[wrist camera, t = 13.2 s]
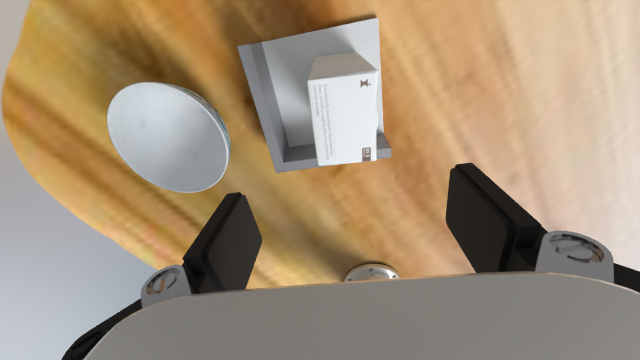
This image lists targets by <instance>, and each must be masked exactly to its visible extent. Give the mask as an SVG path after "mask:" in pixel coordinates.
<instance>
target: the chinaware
mask: <svg viewBox="0 0 640 360" xmlns="http://www.w3.org/2000/svg"><path fill="white" fill-rule="evenodd" d="M107 127H108V132H109V135H110V138H111V141H112V143H113V145H114V147H115V149H116V150H117V152H118V153H119V155H120V156H121V158H122V159H123V160H124V161H125V162H126V164H127V165H128V166H129V167H130V168H131V169H132V170H134V171H135V172H136V173H137V174H138V175H140V176H141V177H143V178H144V179H146V180H147V181H149V182H151V183H152V184H154V185H157V186H159V187H161V188H164V189H167V190H170V191H175V192H182V193H193V192H199V191H203V190H206V189H208V188H210V187H212V186H213V185H215V184H216V183H217V182H218V181H219V180H220V179H221V177H222V176H223V174H224V173H225V171H226V168H227V165H228V162H229V158H230V150H231V144H230V136H229V132H228V129H227V127H226V124H225V122H224V120H223V119H222V117H221V115H220V114H219V113H218V111H217V110H216V109H215V108H214V107H213V106H212V105H211V104H210V103H209V102H208V101H207V100H205V99H204V98H203V97H201V96H200V95H198V94H196V93H195V92H193V91H191V90H188V89H186V88H183V87H180V86H177V85H173V84H168V83H162V82H140V83H135V84H132V85H129V86H127V87H125V88H123V89H122V90H120V91H119V92H118V93H117V94H116V95H115V96H114V97H113V99H112V101H111V103H110V105H109V108H108V112H107Z"/></svg>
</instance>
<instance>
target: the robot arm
mask: <svg viewBox="0 0 640 360" xmlns="http://www.w3.org/2000/svg"><path fill="white" fill-rule="evenodd" d="M446 223H447V226H448V227H449V229H450V231H451V232H452V234H453V236H454V237H455V239H456V240H457V242H458V244H459V245H460V247H461V249H462V250H463V252H464V254H465V255H466V257H467V258H468V260H469V262H470V263H471V265H472V267H473V268H474V270H475V272H476V273H470V274H451V275H436V276H421V277H406V278H400V276H399V274H398V273H397V272H396V271H395V270H394V269H392V268H391V267H388V266H386V265H381V264H366V265H362V266H358V267H356V268H354V269H353V270H351V271H350V272H349V273H348V274H347V275H346V277H345V280H344V282H334V283H321V284H307V285H294V286H281V287H268V288H255V289H246V286H247V283H248V280H249V278H250V275H251V272H252V269H253V266H254V263H255V261H256V258H257V255H258V252H259V249H260V247H261V244H262V237H261V234H260V232H259V229H258V226H257V224H256V221H255V219H254V216H253V214H252V211H251V209H250V206H249V204H248V201H247V199H246V196H245V195H242V194H241V193H240V192H237V193H229V194H227V195H226V196H225V198H224V199H223V200H222V202H221V203H220V205H219V206H218V208H217V209H216V211H215V212H214V213H213V215H212V216H211V218H210V219H209V221H208V222H207V223H206V225H205V226H204V228H203V229H202V231H201V232H200V234H199V235H198V236H197V238H196V239H195V241H194V242H193V244H192V245H191V247H190V248H189V249H188V251H187V252H186V254H185V255H184V257H183V258H182V259H183V260H184V263H183V264H182V266H180V265H171V266H167V267H165V268H163V269H161V270H159V271H158V272H156V273H155V274H153V275H152V276H151V277H150V278H149V279H148V280H147V281H146V283H145V284H144V286H143V287H142V291H141V299H139V300H137V301H136V302H134V303H133V304H131V305H129V306H128V307H126V308H125V309H123V310H121V311H120V312H118V313H117V314H115V315H114V316H112V317H110V318H109V319H107V320H106V321H104V322H102V323H101V324H99V325H97V326H96V327H94V328H93V329H91V330H89V331H88V332H87V333H85V334H84V335H82V336H81V337H80V338H78V339H77V340H76V341H75V342H74V343H73V344H72V346H71V347H70V348H69V349H68V350H67V351H66V353H65V355H64V356H63V358H62V360H640V272H639V271H636V270H633V269H630V268H627V267H624V266H621V265H618V264H615V263H613V257H612V254H611V252H610V251H609V250H608V249H607V248H606V247H605V246H604V245H602V244H601V243H599V242H598V241H596V240H594V239H592V238H590V237H588V236H585V235H582V234H579V233H574V232H569V231H552V232H549V233H548V232H547V231H546V230H545V229H544V228H543V227H542V225H541V224H540V223H539V222H538V221H537V220H536V219H534V218H533V217H532V216H531V215H530V214H529V213H528V212H527V211H525V210H524V209H523V208H522V207H521V206H520V205H519V204H518V203H517V202H515V201H514V200H513V199H512V198H511V197H510V196H509V195H508V194H506V193H505V192H504V191H503V190H502V189H501V188H500V187H499V186H497V185H496V184H495V183H494V182H493V181H492V180H491V179H490V178H489V177H487V176H486V175H485V174H484V173H483V172H482V171H481V170H480V169H478V168H477V167H476V166H475V165H474V164H473V163H464V164H457V165H455V168H452V169H451V171H450V180H449V190H448V200H447V209H446Z"/></svg>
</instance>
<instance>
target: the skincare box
mask: <svg viewBox="0 0 640 360" xmlns="http://www.w3.org/2000/svg"><path fill="white" fill-rule="evenodd" d="M378 76H379V71H378V69H376V68H374V67H373V66H372V65H371V64H370V63H369V62H368V61H366V60H365V59H364V58H363V57H362V56H361V55H360V54H359V53H357V52H354V53H346V54H337V55H329V56H320V57H315V58H314V60H313V64H312V68H311V72H310V75H309V78H308V80H307V85H308V95H309V104H310V112H311V120H312V128H313V135H314V141H315V149H316V156H317V161H318V165H319V166H324V165H336V164H345V163H355V162H364V161H376V160H377V157H376V130H377V127H378V114H377V86H378Z"/></svg>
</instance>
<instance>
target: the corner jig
mask: <svg viewBox="0 0 640 360" xmlns="http://www.w3.org/2000/svg"><path fill="white" fill-rule="evenodd" d="M237 48H238V51H239V55H240V58H241V61H242V64H243V68H244V71H245V74H246V77H247V80H248V84H249V87H250V90H251V93H252V97H253V100H254V103H255V106H256V109H257V113H258V116H259V119H260V122H261V126H262V129H263V132H264V135H265V138H266V142H267V145H268V148H269V151H270V155H271V158H272V161H273V164H274V167H275V171H276V173H279V172H287V171H294V170H301V169H309V168H316V167H323V166H319V165H318V161H317V156H316V149H315V141H314V135H313V128H312V120H311V112H310V104H309V95H308V85H307V80H308V78H309V75H310V72H311V68H312V64H313V60H314V58H315V57H320V56H329V55H337V54H346V53H354V52H357V53H359V54H360V55H361V56H362V57H363V58H364V59H365V60H366V61H368V62H369V63H370V64H371V65H372V66H373V67H374V68H376V69H378V71H379V76H378V86H377V114H378V127H377V130H376V157H377V159H382V158H389V157H391V147H390V145H389V143H388V141H387V139H386V137H385V135H384V132H383V111H382V89H381V67H380V45H379V23H378V18H374V19H369V20H364V21H360V22H355V23H350V24H345V25H341V26H336V27H331V28H327V29H322V30H317V31H312V32H308V33H303V34H298V35H293V36H289V37H284V38H279V39H274V40H270V41H265V42H259V43H252V44H246V45H241V46H237ZM336 165H338V164H336ZM324 166H331V165H324Z"/></svg>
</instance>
